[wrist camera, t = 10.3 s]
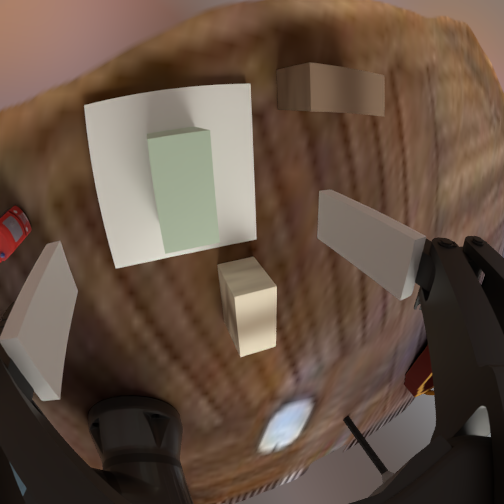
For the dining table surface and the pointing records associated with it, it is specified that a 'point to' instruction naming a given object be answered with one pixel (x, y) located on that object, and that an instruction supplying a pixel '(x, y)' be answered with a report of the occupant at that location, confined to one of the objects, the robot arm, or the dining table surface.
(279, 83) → the walnut brick
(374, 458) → the solar garden light
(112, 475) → the robot arm
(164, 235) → the sage brick
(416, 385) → the decorative basket
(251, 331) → the birch brick
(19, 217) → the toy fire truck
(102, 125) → the grey plate
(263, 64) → the dining table surface
